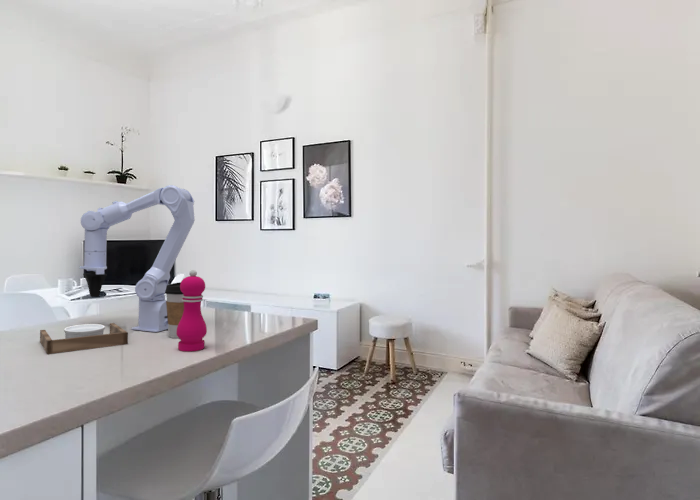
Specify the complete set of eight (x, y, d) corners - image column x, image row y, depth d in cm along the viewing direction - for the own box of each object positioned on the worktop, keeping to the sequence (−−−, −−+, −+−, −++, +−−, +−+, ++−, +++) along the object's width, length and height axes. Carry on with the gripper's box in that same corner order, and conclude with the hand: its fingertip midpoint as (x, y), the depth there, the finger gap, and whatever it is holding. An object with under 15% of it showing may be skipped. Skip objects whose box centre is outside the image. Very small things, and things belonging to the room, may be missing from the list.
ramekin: (112, 342, 110) (112, 326, 110) (78, 350, 102) (78, 332, 102) (90, 338, 114) (90, 322, 114) (55, 345, 106) (56, 328, 106)
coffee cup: (202, 334, 122) (203, 283, 122) (181, 340, 114) (182, 285, 114) (178, 331, 125) (179, 281, 124) (157, 337, 117) (158, 283, 116)
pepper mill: (181, 344, 109) (182, 268, 109) (209, 345, 110) (211, 269, 110) (171, 352, 102) (173, 270, 102) (202, 352, 103) (204, 271, 102)
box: (40, 341, 108) (40, 330, 108) (113, 333, 120) (113, 323, 120) (47, 354, 97) (47, 341, 97) (127, 343, 109) (127, 332, 108)
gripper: (75, 250, 129) (74, 294, 129) (84, 252, 118) (83, 300, 119) (101, 250, 134) (100, 293, 134) (112, 252, 123) (111, 298, 123)
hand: (94, 296), depth 127 cm, fingers closed
